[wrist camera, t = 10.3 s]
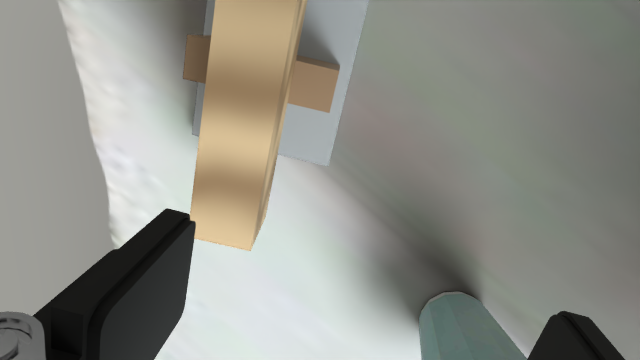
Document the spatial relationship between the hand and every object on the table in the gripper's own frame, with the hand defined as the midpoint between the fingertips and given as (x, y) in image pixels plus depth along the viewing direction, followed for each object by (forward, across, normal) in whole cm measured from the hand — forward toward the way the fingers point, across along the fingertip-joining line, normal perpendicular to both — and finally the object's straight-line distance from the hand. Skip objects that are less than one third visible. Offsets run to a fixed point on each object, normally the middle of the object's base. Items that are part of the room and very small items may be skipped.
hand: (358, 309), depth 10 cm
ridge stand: (+24, +8, -3) cm, 26 cm away
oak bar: (+18, +7, -3) cm, 19 cm away
